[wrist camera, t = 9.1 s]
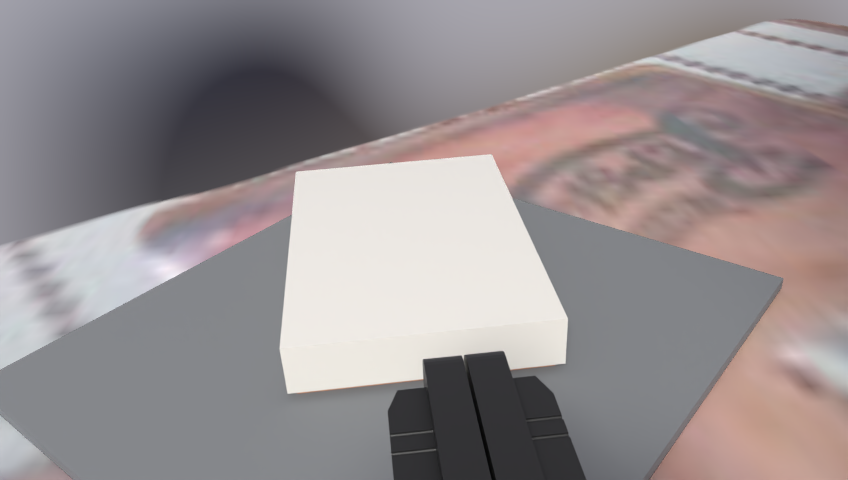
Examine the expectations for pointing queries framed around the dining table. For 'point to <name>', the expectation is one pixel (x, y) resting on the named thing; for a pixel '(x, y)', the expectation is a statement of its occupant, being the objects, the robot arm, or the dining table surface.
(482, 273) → the tile
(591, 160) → the dining table surface
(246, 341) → the mat
